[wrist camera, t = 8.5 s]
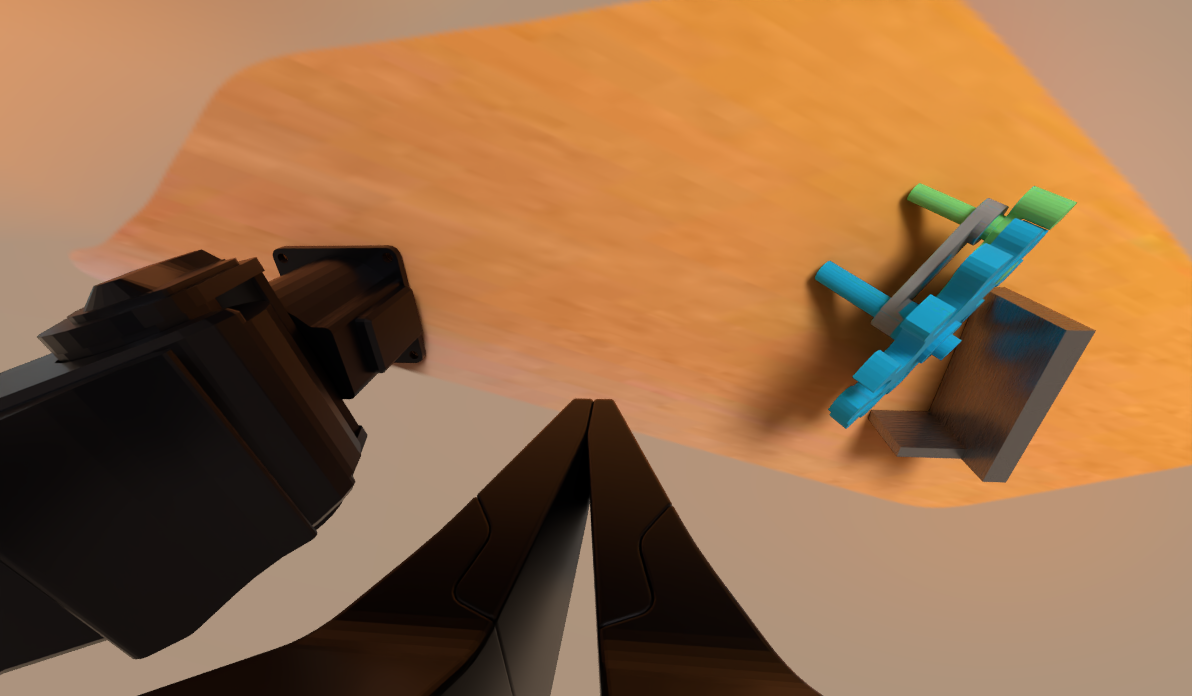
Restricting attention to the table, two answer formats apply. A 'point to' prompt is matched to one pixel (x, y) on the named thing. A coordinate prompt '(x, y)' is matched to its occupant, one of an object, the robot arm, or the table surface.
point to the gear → (942, 315)
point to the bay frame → (992, 387)
